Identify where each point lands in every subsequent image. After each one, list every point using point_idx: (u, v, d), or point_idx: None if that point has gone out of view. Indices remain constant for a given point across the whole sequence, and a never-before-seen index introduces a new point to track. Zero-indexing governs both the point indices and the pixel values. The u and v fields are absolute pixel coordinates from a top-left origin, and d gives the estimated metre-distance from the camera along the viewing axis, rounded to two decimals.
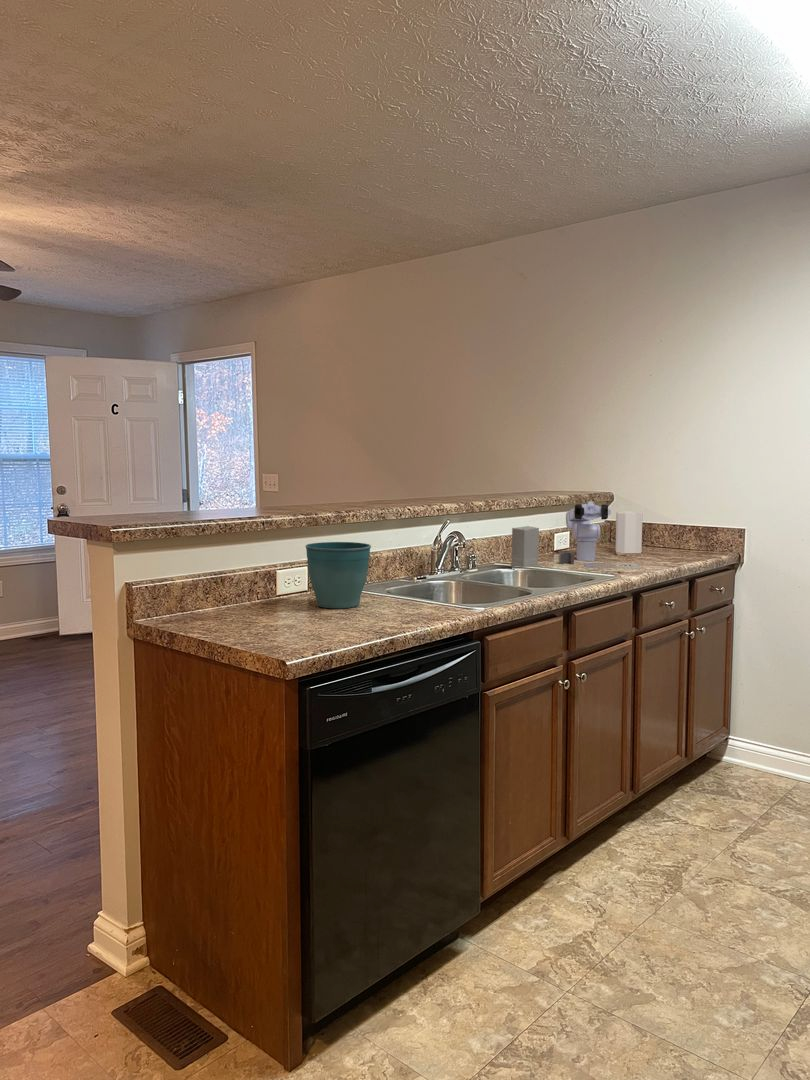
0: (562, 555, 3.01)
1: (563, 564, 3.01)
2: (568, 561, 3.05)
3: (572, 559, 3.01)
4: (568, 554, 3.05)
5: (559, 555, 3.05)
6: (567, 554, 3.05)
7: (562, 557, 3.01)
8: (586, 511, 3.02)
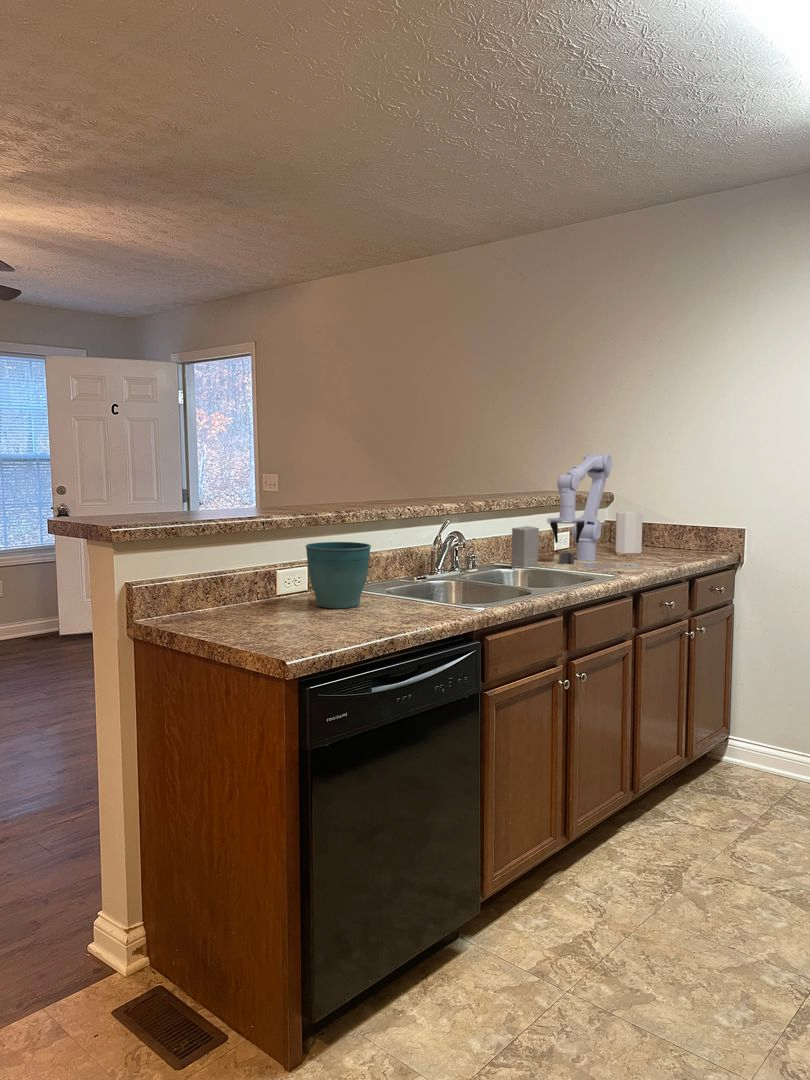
0: (562, 555, 3.01)
1: (563, 564, 3.01)
2: (568, 561, 3.05)
3: (572, 559, 3.01)
4: (568, 554, 3.05)
5: (559, 555, 3.05)
6: (567, 554, 3.05)
7: (562, 557, 3.01)
8: None
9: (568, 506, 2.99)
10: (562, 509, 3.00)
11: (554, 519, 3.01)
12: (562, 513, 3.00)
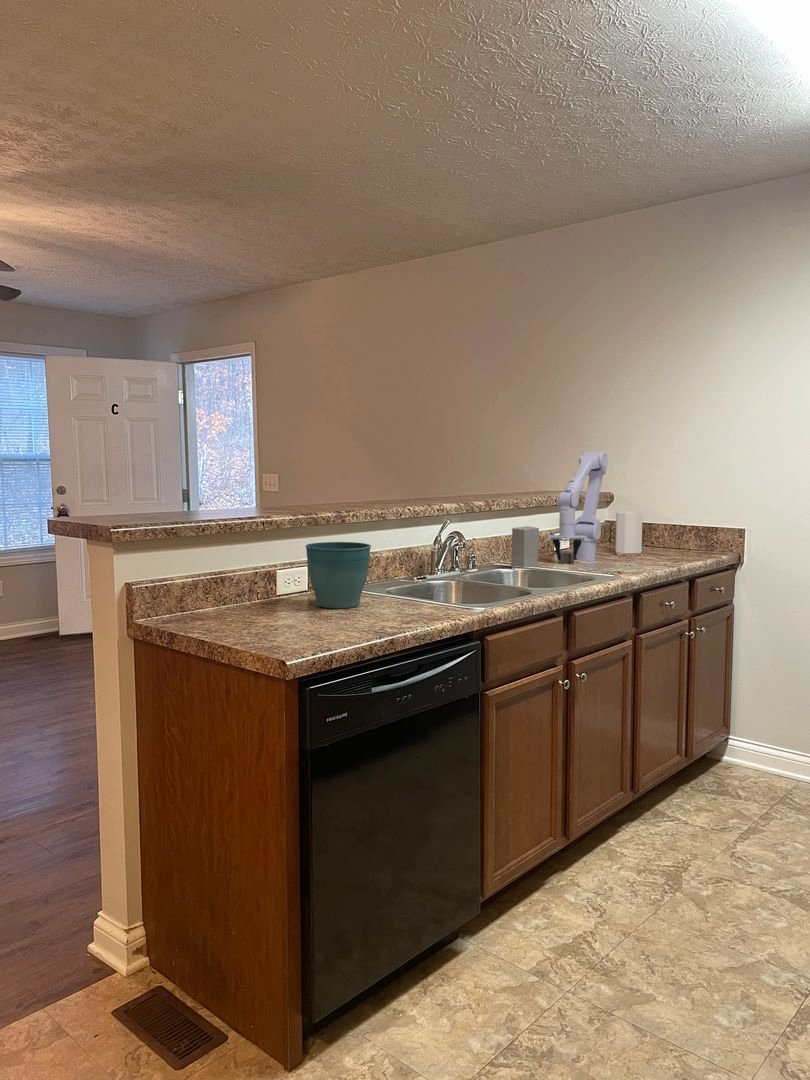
0: (562, 555, 3.01)
1: (563, 564, 3.01)
2: (568, 561, 3.05)
3: (572, 559, 3.01)
4: (568, 554, 3.05)
5: None
6: (567, 554, 3.05)
7: (562, 557, 3.01)
8: (562, 540, 3.03)
9: (568, 524, 3.00)
10: (562, 527, 3.01)
11: (554, 536, 3.02)
12: (562, 531, 3.01)
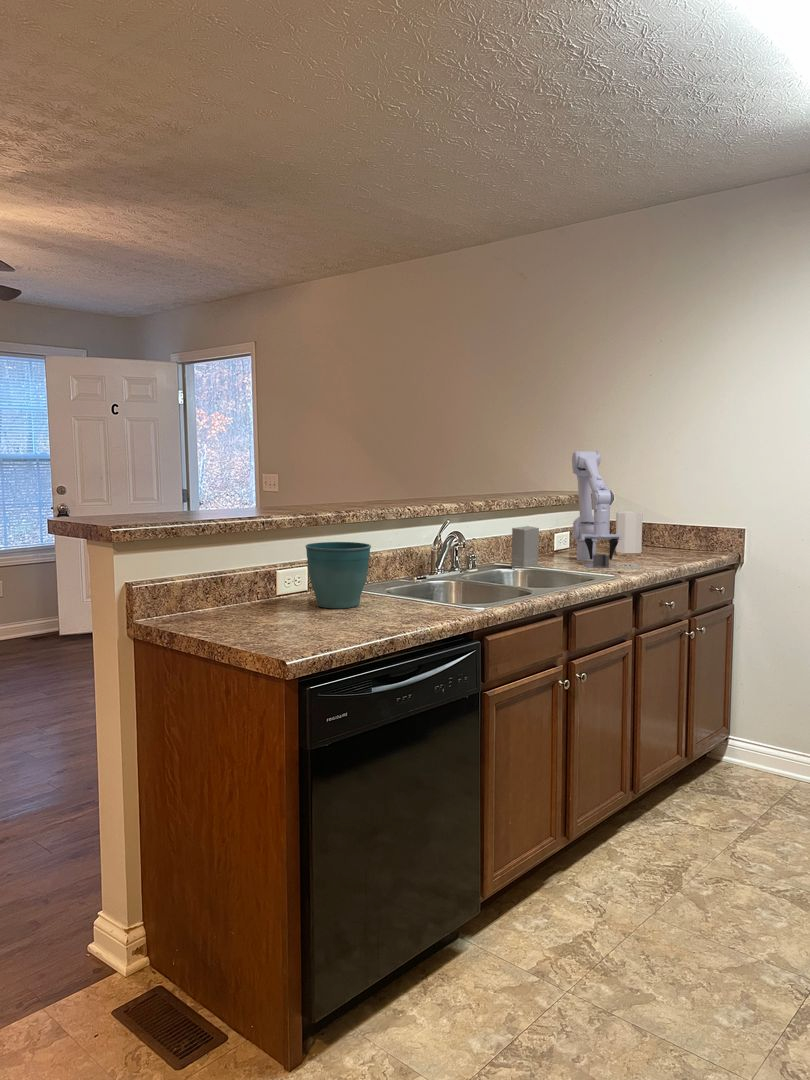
0: (597, 557, 2.95)
1: (563, 564, 3.01)
2: (602, 563, 2.99)
3: (607, 561, 2.95)
4: (602, 556, 2.99)
5: (593, 557, 2.99)
6: (601, 556, 2.99)
7: (597, 559, 2.95)
8: None
9: (608, 522, 2.94)
10: (596, 525, 2.95)
11: (588, 535, 2.96)
12: (596, 530, 2.95)
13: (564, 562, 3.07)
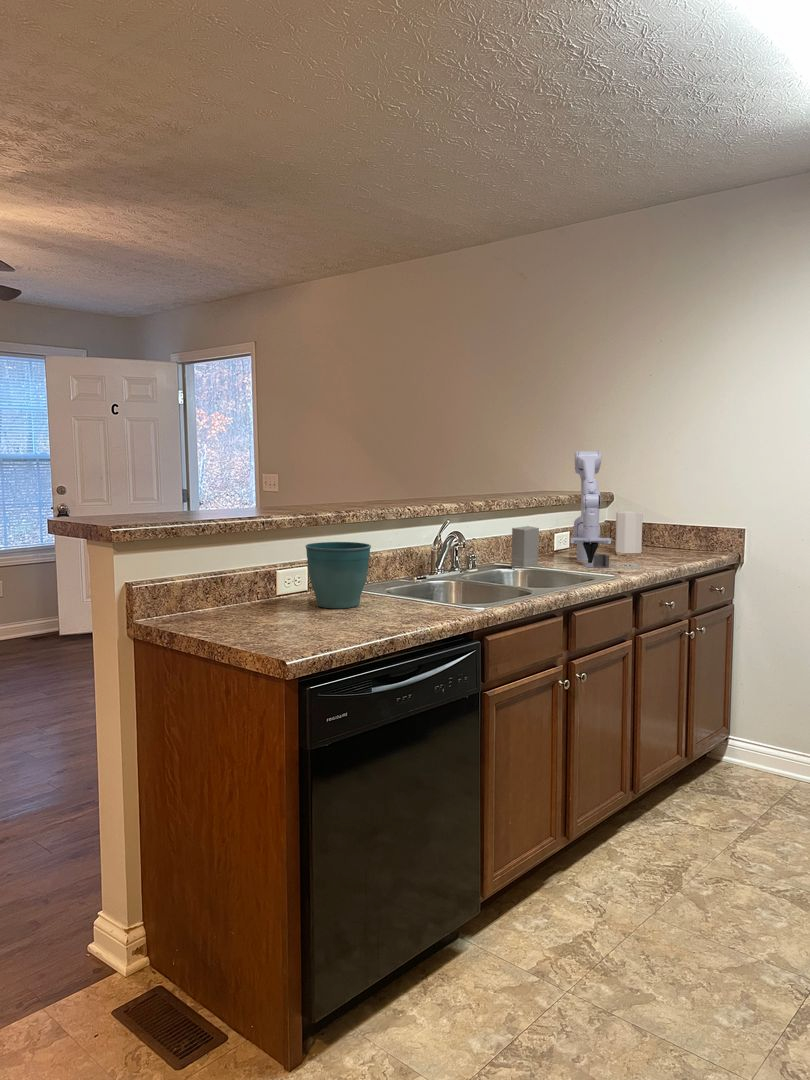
0: (597, 557, 2.95)
1: (563, 564, 3.01)
2: (603, 563, 2.99)
3: (607, 561, 2.95)
4: (603, 556, 2.99)
5: (593, 557, 2.99)
6: (602, 556, 2.99)
7: (597, 559, 2.95)
8: None
9: (596, 526, 2.94)
10: (585, 529, 2.95)
11: (577, 539, 2.96)
12: (586, 533, 2.95)
13: (564, 562, 3.07)
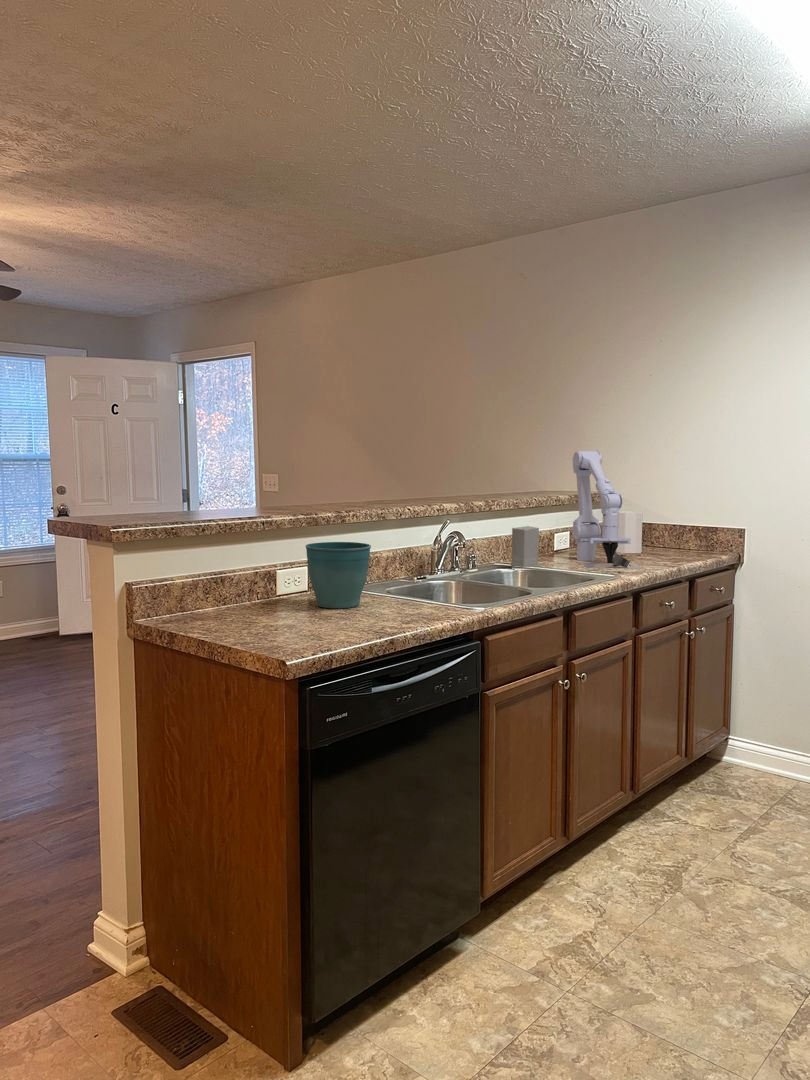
0: (619, 556, 2.94)
1: (563, 564, 3.01)
2: (619, 565, 2.99)
3: (625, 565, 2.95)
4: (623, 559, 2.98)
5: (615, 555, 2.98)
6: (622, 559, 2.98)
7: (618, 558, 2.95)
8: None
9: (617, 526, 2.94)
10: (605, 529, 2.94)
11: (597, 539, 2.96)
12: (605, 533, 2.95)
13: (564, 562, 3.07)
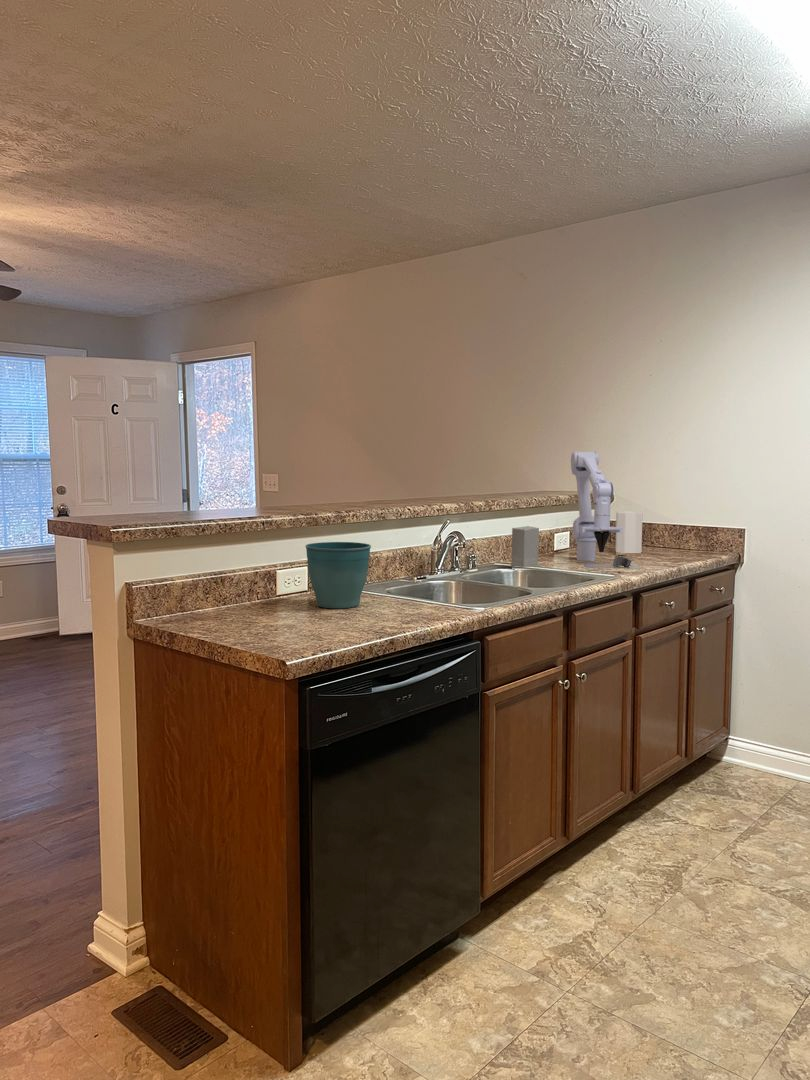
0: (619, 558, 2.95)
1: (563, 564, 3.01)
2: None
3: (628, 565, 2.94)
4: (624, 559, 2.98)
5: (615, 557, 2.98)
6: (623, 559, 2.98)
7: (619, 560, 2.95)
8: None
9: (608, 515, 2.94)
10: (597, 518, 2.94)
11: (589, 528, 2.95)
12: (597, 522, 2.94)
13: (564, 562, 3.07)
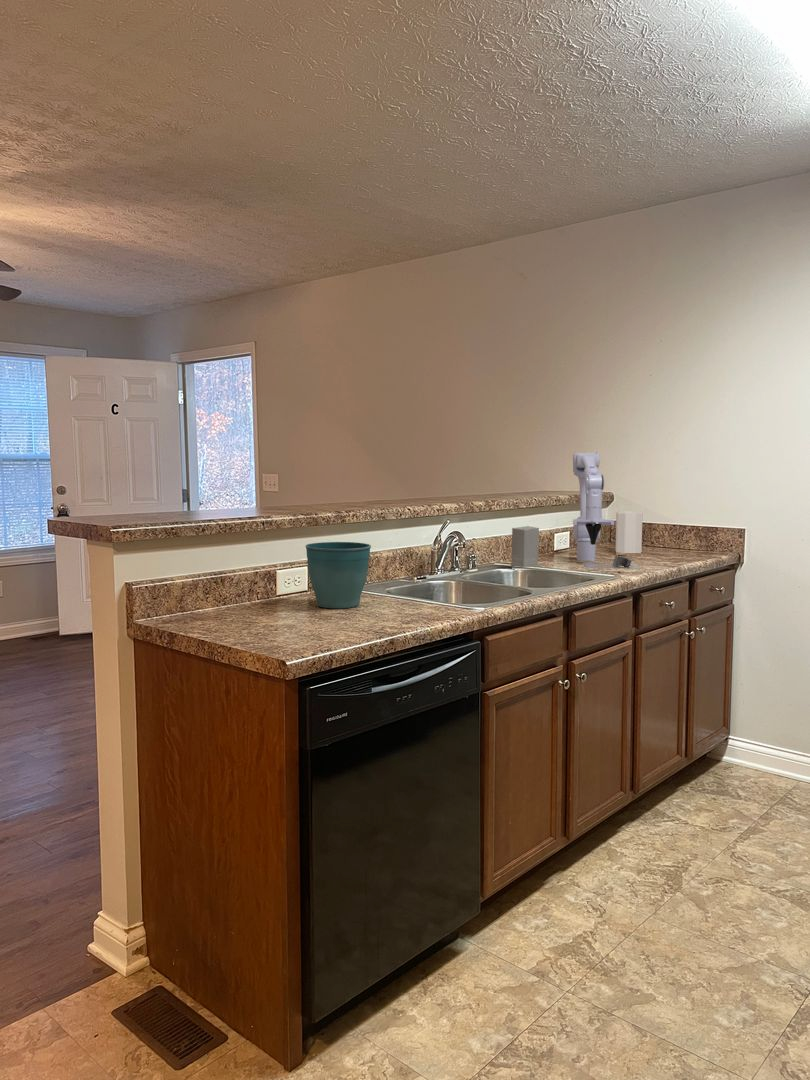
0: (619, 558, 2.95)
1: (563, 564, 3.01)
2: None
3: (628, 565, 2.94)
4: (624, 559, 2.98)
5: (615, 557, 2.98)
6: (623, 559, 2.98)
7: (619, 560, 2.95)
8: None
9: (599, 507, 2.94)
10: (588, 510, 2.94)
11: (580, 520, 2.95)
12: (588, 515, 2.94)
13: (564, 562, 3.07)
